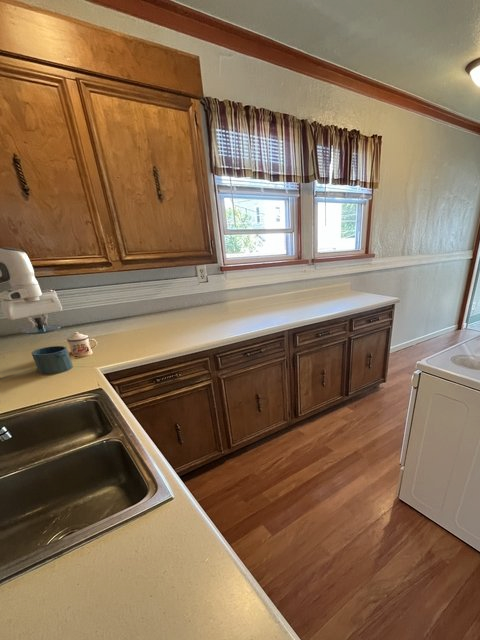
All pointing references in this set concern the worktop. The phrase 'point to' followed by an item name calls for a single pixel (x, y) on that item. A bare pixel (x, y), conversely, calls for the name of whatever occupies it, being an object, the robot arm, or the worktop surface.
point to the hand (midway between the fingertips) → (40, 326)
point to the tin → (52, 360)
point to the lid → (40, 327)
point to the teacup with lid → (80, 345)
